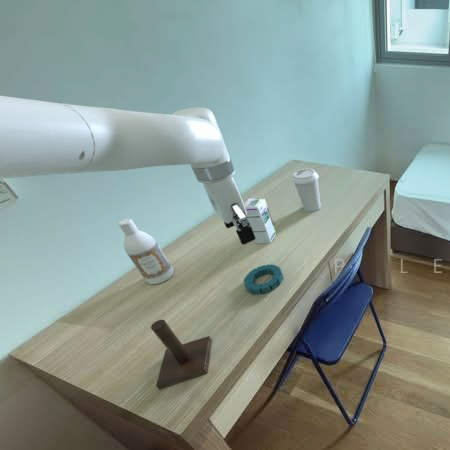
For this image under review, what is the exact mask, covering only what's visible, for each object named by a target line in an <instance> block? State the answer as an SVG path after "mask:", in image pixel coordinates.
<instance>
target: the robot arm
mask: <svg viewBox="0 0 450 450" xmlns="http://www.w3.org/2000/svg"><path fill="white" fill-rule="evenodd" d="M180 165H181V166H183V165H190V167H191V170H192V172H193V174H194V176H195V178H196V181H197V182H198V183H200V184H203V188H204V190H205V193H206V196H207V199H208V201H209V203H210V205H211V207H212V211H214V213H215V214H216V215H217V217H219V218H220V220H222V221H223V223H224V225H225V228H226V229H230V228H232V227H235V228H236V230H235V232H236V235H237V236H238V239H239V242H240V243H241V245H246V244H249V243H250V242H254V240H255V235H254V233H253V230H252V228H251V225H250V223H249V221H248V220H247V218H246V215H247V211H246V208H245V205H244V203H245V202H244V200H243V198H242V196H241V193H240V191H239V188H238V186H237V183H236V182H235V180H234V177H233V176H234V175H235V174H236V170H235V167H234V163H233V162H232V159H231V156H230V154H229V151H228V148H227V146H226V143H225V140H224V136H223V134H222V132H221V129H220V127H219V125H218V122H217V119H216V117H215V114H214V113H213V112H212V110H210V108H207V107H202V106H197V107H187V108H182V109H179V110H176V111H174V112H173V113H172V114H167V113H155V112H145V111H134V110H127V109H119V108H112V107H111V108H110V107H101V106H89V105H88V106H87V105H80V104H70V103H61V102H52V101H45V100H37V99H28V98H22V97H14V96H7V95H0V179H15V178H27V177H28V178H29V177H38V176H52V175H65V174H83V173H85V174H86V173H96V172H97V173H98V172H115V171H119V172H120V171H128V170H136V169H144V168H154V167H164V166H165V167H166V166H167V167H168V166H180Z"/></svg>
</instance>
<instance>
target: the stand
mask: <svg viewBox="0 0 450 450" xmlns="http://www.w3.org/2000/svg"><path fill="white" fill-rule="evenodd" d="M150 329H151V331H152V332H153V333H154V335H156V337H157V338H158V340H160V342H161V343H162V344H163V346H164V347H165V348H166V349H165V350H164V353H163V358H162V362H161V365H160V369H159V374H158V377H157V381H156V384H155V387H156V388H157V389H158V390H162V389H163V390H164V389H166V388H169V387H172V386H173V385H177V384H180V383H183V382H186V381H189V380H192V379H195V378H198V377H200V376H204V375H206V374H208V372H209V365H210V355H211V347H212V338H211V336H210V335H207V336H205V337H201V338H199V339H195V340H192V341H188V342H186V343H182V342H181V341H180V339H179V338H178V336H177V335H176V333H174V331H173V330H172V328H171V327H170V326H169V324H168V323H167V321H166V320H165V319H158V320H156V321H154V322H153V323H152V324H151V325H150Z"/></svg>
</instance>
